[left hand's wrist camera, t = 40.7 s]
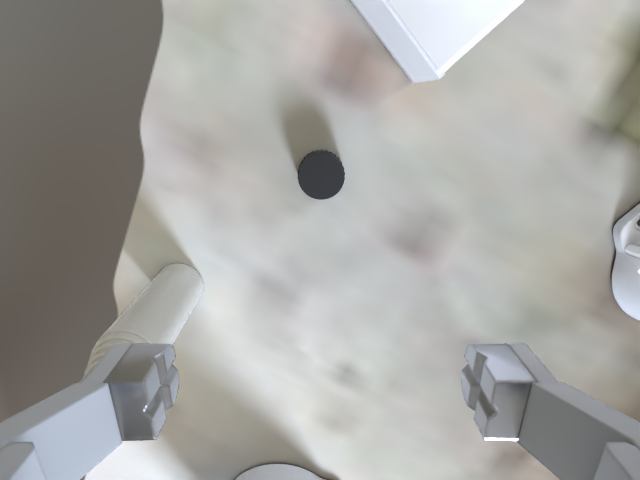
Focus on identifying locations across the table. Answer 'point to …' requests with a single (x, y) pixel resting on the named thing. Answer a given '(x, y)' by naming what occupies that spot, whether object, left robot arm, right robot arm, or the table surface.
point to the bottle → (154, 312)
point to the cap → (321, 174)
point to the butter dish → (432, 30)
